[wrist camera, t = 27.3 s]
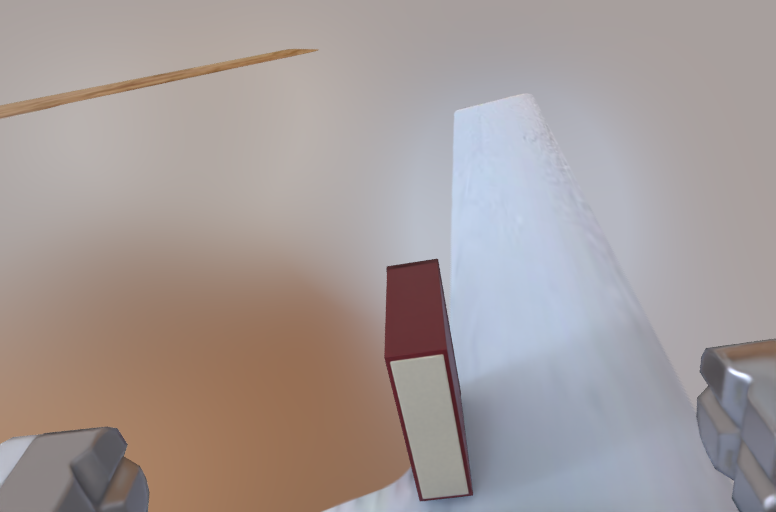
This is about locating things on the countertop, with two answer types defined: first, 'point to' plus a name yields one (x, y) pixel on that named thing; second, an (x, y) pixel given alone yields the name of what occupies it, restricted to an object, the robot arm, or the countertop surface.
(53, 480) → the robot arm
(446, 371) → the burgundy book
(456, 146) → the countertop surface
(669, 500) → the countertop surface
